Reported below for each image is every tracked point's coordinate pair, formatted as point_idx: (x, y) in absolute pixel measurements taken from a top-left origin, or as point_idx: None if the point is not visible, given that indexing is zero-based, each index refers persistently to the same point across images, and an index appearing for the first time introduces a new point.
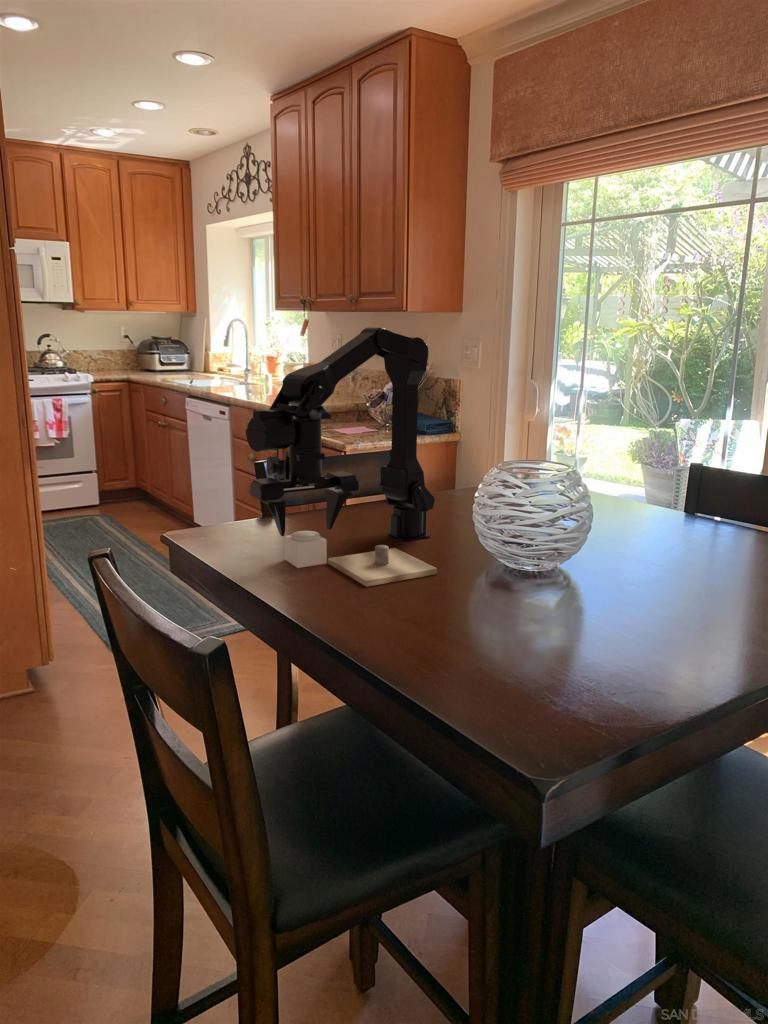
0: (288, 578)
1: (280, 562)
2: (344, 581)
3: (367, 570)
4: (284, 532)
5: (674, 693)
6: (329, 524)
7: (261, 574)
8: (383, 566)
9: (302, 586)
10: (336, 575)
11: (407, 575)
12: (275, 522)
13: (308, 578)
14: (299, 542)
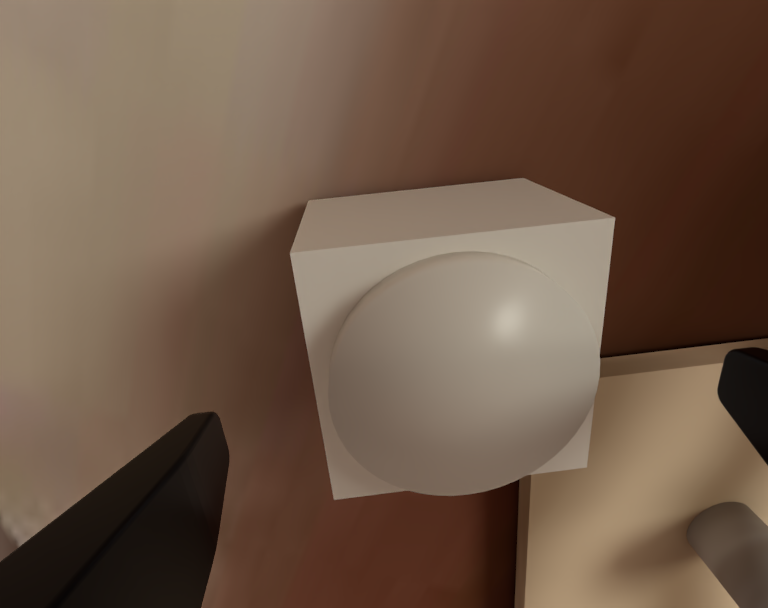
0: (249, 484)
1: (269, 220)
2: (473, 571)
3: (599, 585)
4: (219, 500)
5: None
6: (760, 438)
7: (114, 394)
8: (693, 563)
9: (285, 578)
10: (479, 506)
11: None
12: (74, 511)
13: (343, 507)
14: (356, 482)
